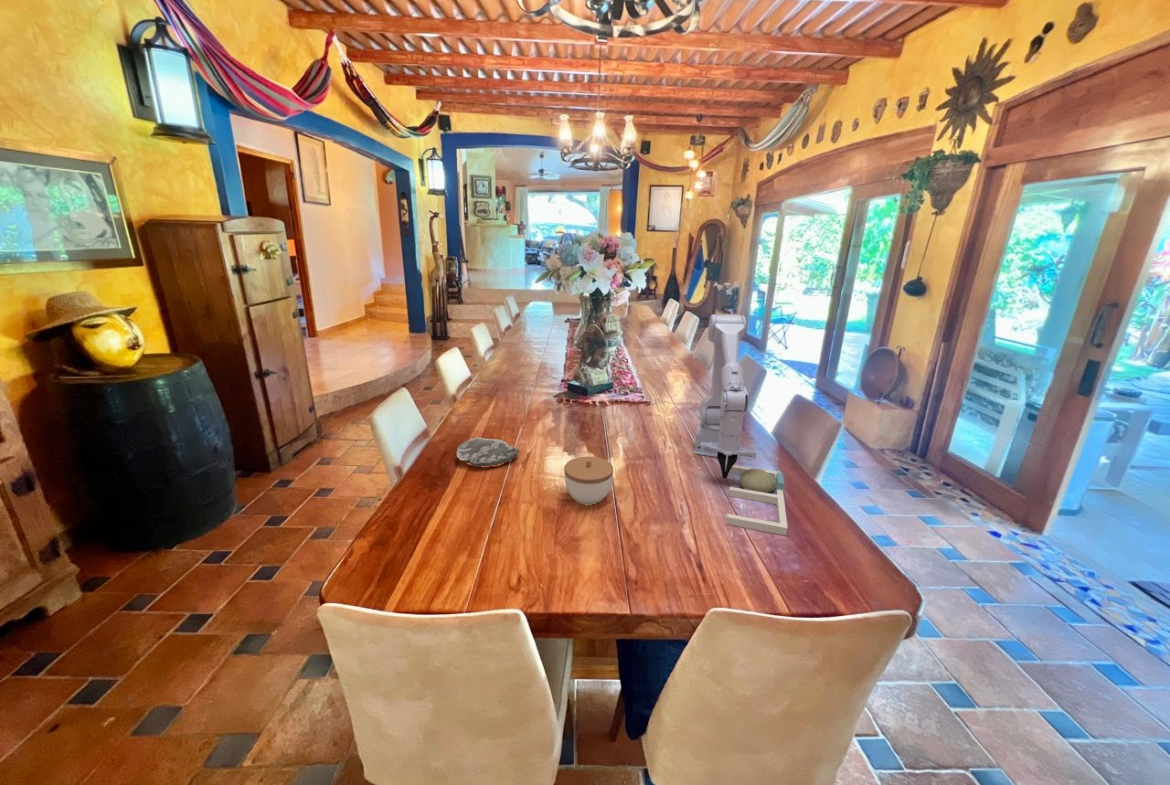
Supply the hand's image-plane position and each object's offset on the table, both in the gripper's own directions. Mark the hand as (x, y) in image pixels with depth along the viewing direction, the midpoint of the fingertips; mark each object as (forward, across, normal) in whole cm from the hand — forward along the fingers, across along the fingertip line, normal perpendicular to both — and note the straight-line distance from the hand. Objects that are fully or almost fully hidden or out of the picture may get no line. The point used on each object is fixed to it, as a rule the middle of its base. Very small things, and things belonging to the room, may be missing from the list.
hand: (724, 476), depth 131 cm
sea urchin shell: (+2, +9, 0) cm, 9 cm away
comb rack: (+2, +8, -7) cm, 11 cm away
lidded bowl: (+2, -34, -21) cm, 40 cm away
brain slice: (+2, -70, -10) cm, 71 cm away
